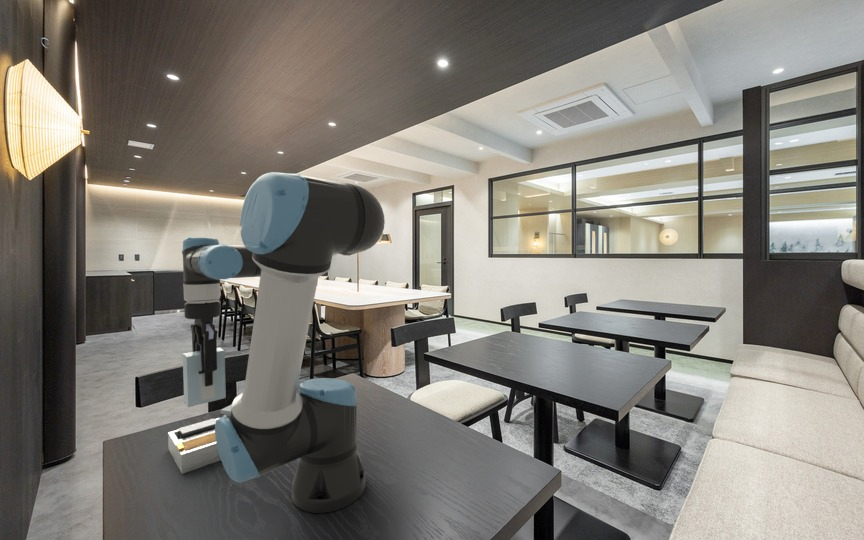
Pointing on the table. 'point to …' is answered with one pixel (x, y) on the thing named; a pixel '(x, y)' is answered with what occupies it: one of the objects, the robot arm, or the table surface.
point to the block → (194, 378)
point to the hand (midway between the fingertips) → (205, 395)
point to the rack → (194, 445)
